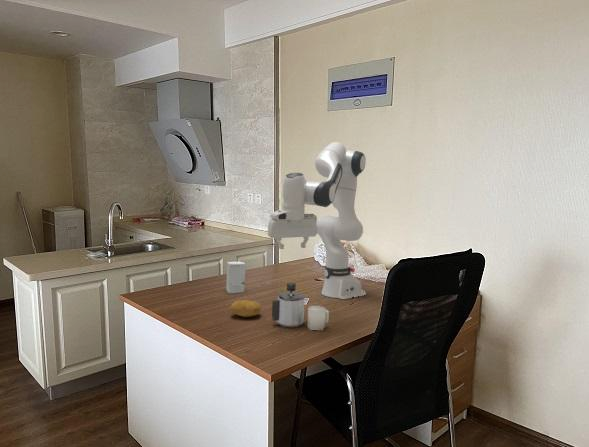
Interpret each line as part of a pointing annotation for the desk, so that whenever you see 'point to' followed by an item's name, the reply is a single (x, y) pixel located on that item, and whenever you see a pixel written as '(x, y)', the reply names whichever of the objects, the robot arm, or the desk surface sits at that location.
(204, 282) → the desk surface
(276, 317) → the carafe
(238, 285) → the skincare box
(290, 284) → the plunger
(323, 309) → the white ceramic cylinder
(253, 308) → the potato
